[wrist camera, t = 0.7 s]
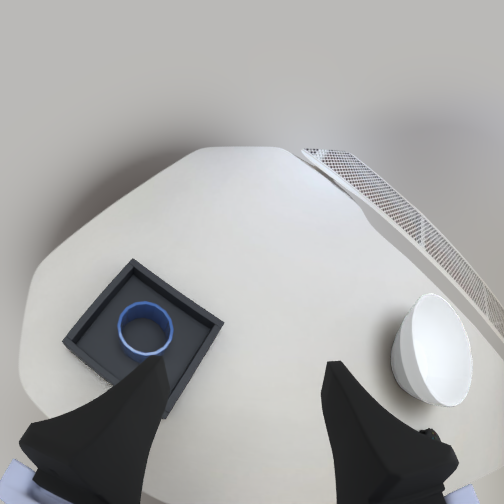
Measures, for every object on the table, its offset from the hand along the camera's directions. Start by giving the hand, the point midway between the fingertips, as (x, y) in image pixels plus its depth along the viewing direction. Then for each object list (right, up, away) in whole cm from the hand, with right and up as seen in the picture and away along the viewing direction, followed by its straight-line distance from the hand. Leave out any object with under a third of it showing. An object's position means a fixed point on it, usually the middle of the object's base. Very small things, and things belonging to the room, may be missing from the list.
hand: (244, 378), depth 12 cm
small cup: (-11, -4, +17) cm, 21 cm away
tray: (-11, -4, +17) cm, 21 cm away
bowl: (+27, -14, +30) cm, 43 cm away
